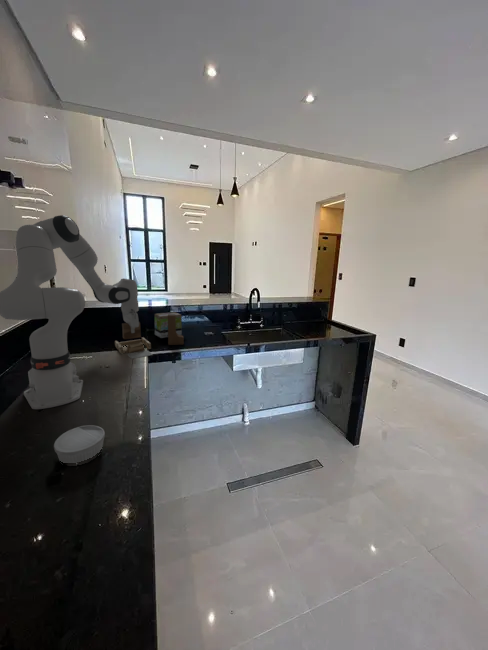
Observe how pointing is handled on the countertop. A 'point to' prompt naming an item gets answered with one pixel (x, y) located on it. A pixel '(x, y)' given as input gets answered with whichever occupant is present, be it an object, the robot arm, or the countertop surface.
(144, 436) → the countertop surface
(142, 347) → the offcut lower
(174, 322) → the wooden block
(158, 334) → the tea box
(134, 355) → the mat
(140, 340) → the tray
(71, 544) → the countertop surface
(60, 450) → the ramekin
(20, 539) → the countertop surface
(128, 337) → the dark brown wood block
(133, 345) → the offcut upper
